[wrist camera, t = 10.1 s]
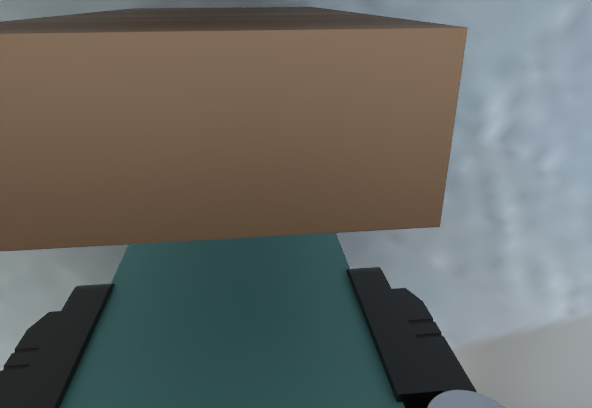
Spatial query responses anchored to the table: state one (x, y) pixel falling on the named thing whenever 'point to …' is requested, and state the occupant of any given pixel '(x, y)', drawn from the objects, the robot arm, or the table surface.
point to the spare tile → (232, 330)
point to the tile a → (222, 124)
